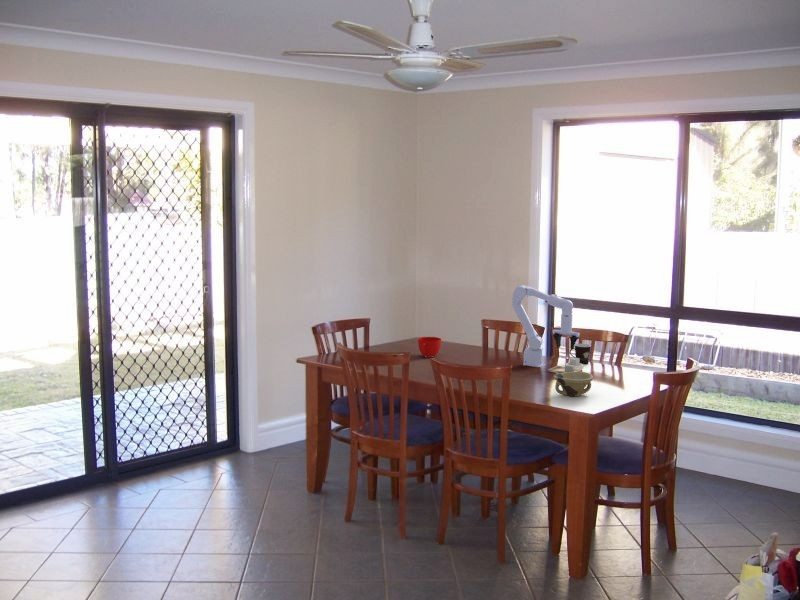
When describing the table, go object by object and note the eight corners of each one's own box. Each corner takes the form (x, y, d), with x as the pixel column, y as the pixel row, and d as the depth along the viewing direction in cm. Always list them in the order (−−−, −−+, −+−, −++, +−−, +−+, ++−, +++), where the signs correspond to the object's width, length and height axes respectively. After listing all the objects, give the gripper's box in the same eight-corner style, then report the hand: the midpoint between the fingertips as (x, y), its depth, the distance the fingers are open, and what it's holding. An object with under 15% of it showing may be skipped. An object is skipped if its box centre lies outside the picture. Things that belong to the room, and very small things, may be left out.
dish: (562, 368, 422) (562, 364, 422) (570, 365, 429) (570, 361, 429) (578, 371, 417) (578, 367, 416) (586, 368, 424) (586, 364, 424)
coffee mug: (589, 362, 439) (589, 344, 438) (591, 365, 431) (592, 347, 429) (567, 361, 440) (568, 343, 439) (569, 364, 432) (569, 346, 430)
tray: (547, 372, 415) (547, 369, 414) (557, 368, 423) (557, 365, 423) (572, 376, 406) (572, 373, 406) (582, 372, 415) (582, 369, 414)
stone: (564, 373, 409) (565, 365, 409) (566, 372, 413) (566, 364, 412) (572, 374, 408) (573, 366, 407) (574, 372, 411) (574, 365, 410)
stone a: (569, 367, 422) (569, 358, 422) (573, 366, 426) (573, 357, 425) (575, 368, 420) (575, 359, 419) (579, 367, 423) (579, 358, 423)
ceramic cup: (411, 358, 444) (412, 341, 443) (422, 353, 460) (422, 336, 458) (433, 361, 439) (434, 343, 438) (444, 355, 455) (444, 337, 454)
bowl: (586, 389, 379) (587, 370, 378) (596, 400, 361) (597, 379, 360) (549, 390, 378) (550, 370, 377) (558, 400, 361) (558, 379, 359)
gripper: (550, 322, 424) (549, 347, 426) (575, 325, 415) (574, 351, 417) (556, 320, 429) (555, 345, 431) (581, 324, 420) (580, 349, 422)
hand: (565, 348), depth 424 cm, fingers open, 7 cm apart
